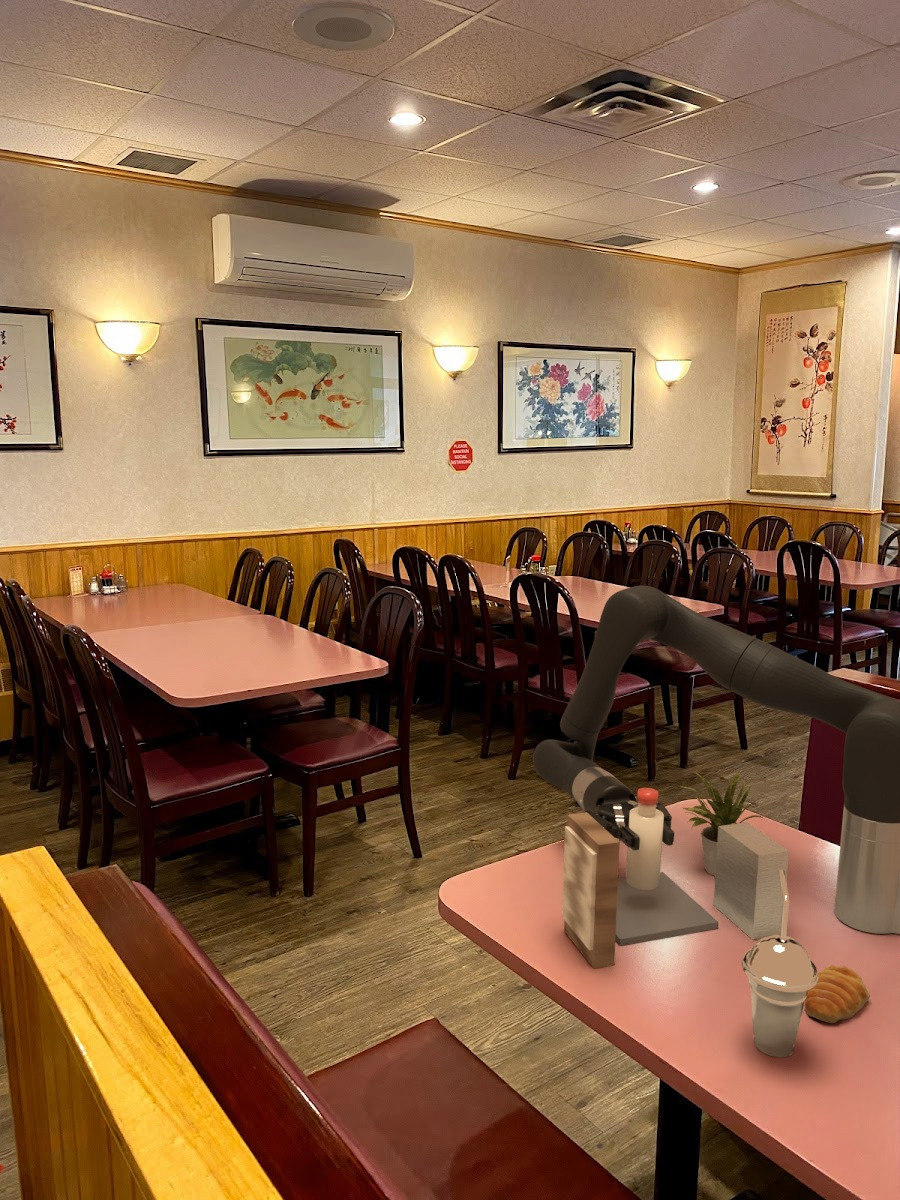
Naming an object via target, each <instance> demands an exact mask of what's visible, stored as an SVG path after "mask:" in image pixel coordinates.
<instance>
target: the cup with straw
mask: <svg viewBox="0 0 900 1200" xmlns="http://www.w3.org/2000/svg"><path fill="white" fill-rule="evenodd" d="M779 877H780V883H781V889H782V895H783V906H782V918H781V931H780V934H771V935H767V936H764V937H762V938H759V939H757V940H756V942H755V943H754V944H753V946H752V947H751V948H749V949H748V950H747V951H745V953H744V954H743V957H742V960H741V968H742V970H743V972H744V974H745V975H746V976H747V979H748V985H749V989H750V997H751V998H750V999H751V1001H750V1002H751V1016H752V1017H751V1018H752V1019H751V1020H752V1034H753V1044H754V1046H755V1048H756V1049H758V1050H759V1051H760V1052H762V1053H763V1054H764V1055H767V1056H769V1057H773V1058H786V1057H790V1056H791V1055H792V1054H793V1052H794V1049H795V1045H796V1041H797V1036H798V1033H799V1028H800V1023H801V1018H802V1016H803V1010H804V1007H805V1000H806V998H807V995H808V993H809V990H810V989H812V988H813V987H814V986H815V985H816V984H817V982H818V968H817V966H816V965H815V963H814V962H813V961H812V960H811V959H810V956H809V954H808V951H807V950H806V949H805V947H804V946H803V945H802V944H801V943H800V942H799V941H797V940H796V939H795V938H792V936H788V935H787V933H788V918H789V909H790V894H789V888H788V883H787V881H786V876H785V871H784V870H780V871H779Z"/></svg>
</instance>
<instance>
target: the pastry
mask: <svg viewBox="0 0 900 1200" xmlns="http://www.w3.org/2000/svg"><path fill="white" fill-rule="evenodd" d="M817 974H818V982H817V984H816V985H815V986H814V987H813V988H812V989H810V990H809V993H808V995H807V998H806V1000H805V1002H804V1008H805V1010H806V1011H805V1012H806V1015H807V1016H809V1017H813V1018H815V1019H816V1020H819V1021H822V1022H824V1023H825V1022H826V1023H829V1024H835V1023H837V1022H839V1021H843V1020H846V1018H847V1019H853V1017H854V1015H855V1013H856V1012H857V1013H858V1012H859V1011H861V1010H862V1009H863V1007H864V1006H865V1004H867V1002H868V1000H869V999H870V998H871V994H870V992H869V990H868V989H867V986H866V984H865V983H864V981H863V980H862V977H861V976H860V974H859V973H857V972H856V971H855V970H853V969H851V968H849V967H847V966H845V965H844V966H841V965H840V966H836V965H834V964H832V965H831V964H830V966H827V967H824V969H823V970H821V971H820V972H817ZM860 1009H861V1010H860ZM857 1013H856V1014H857Z"/></svg>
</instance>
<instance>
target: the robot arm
mask: <svg viewBox="0 0 900 1200" xmlns="http://www.w3.org/2000/svg"><path fill="white" fill-rule="evenodd" d="M648 640H651V641H655V642H657V643H660V644H663V645H665V646H667V647H670V648H672V649H674V650H676V651H679V652H680V653H682V654H684V655H686V656H687V657H689V659H691V660H693V661H694V662H695V663H696V664H697V665H698V666H699V667H700V668H701V669H702V670H703V671H704V672H705V673H706V674H707V675H708V676H709V677H710V678H711V679H712V680H713V681H715V682H716V683H717V684H719V685H720V686H722V687H724V688H725V689H727V690H728V691H731V692H733V693H735V694H736V695H739V696H740V697H743V698H745V699H746V700H749V701H751V702H753V703H755V704H757V705H761V706H763V707H766V708H771V709H773V710H777V711H782V712H786V713H790V714H791V713H792V714H795V715H800V716H805V717H808V718H811V719H815V720H818V721H821V722H823V723H825V724H827V725H829V726H832V727H834V728H835V729H837V730H839V731H841V732H843V733H845V740H844V747H843V748H844V749H843V763H842V764H843V765H842V766H843V768H842V790H843V793H844V802H843V812H842V813H843V814H842V823H841V824H842V825H841V833H840V834H841V835H840V846H839V857H838V865H837V866H838V867H837V876H836V888H835V889H836V890H835V896H834V897H835V898H834V915H835V916H836V918H837V919H838V920H839V921H840V922H842V923H843V924H845V925H846V926H848V927H850V928H853V929H856V930H858V931H861V932H866V933H870V934H877V935H878V934H881V935H883V934H884V935H886V934H897V935H900V700H899V699H897V698H894V697H891V696H888V695H885V694H882V693H879V692H876V691H874V690H871V689H867V688H864V687H862V686H859V685H856V684H855V683H851V682H848V681H846V680H844V679H841V678H839V677H837V676H834V675H832V674H831V673H828V672H826V671H825V670H823V669H821V668H819V667H817V666H815V665H813V664H811V663H810V662H809V663H808V662H807V661H805V660H803V659H800V658H799V657H797V656H794V655H792V654H790V653H788V652H786V651H784V650H783V649H780V648H779V647H776V646H774V645H772V644H770V643H768V642H766V641H764V640H761V639H759V638H757V637H754V636H752V635H749V634H748V633H745V632H742V631H740V630H738V629H736V628H733V627H731V626H729V625H727V624H725V623H722V622H719V621H716V620H714V619H711V618H710V617H707V616H704V615H703V614H701V613H698V612H697V611H695V610H693V609H691V608H690V607H688V606H686V605H684V604H683V603H681V602H680V601H678V600H676V599H675V598H673V597H671V596H670V595H668V594H666V593H665V592H663V591H661V590H660V589H658V588H655V587H653V586H650V585H635V586H630V587H628V588H627V587H626V588H624V589H621V590H619V591H616V592H614V593H613V594H612V595H610V597H609V598H608V599H607V600H606V602H605V604H604V606H603V609H602V612H601V614H600V618H599V622H598V626H597V629H596V632H595V636H594V640H593V643H592V646H591V650H590V652H589V655H588V658H587V660H586V664H585V667H584V669H583V671H582V674H581V677H580V679H579V681H578V683H577V685H576V687H575V690H574V691H573V693H572V696H571V697H570V700H569V702H568V703H567V706H566V708H565V710H564V712H563V715H561V719H560V722H559V726H560V729H561V732H562V733H563V734H564V735H565V736H566V737H567V738H569V739H571V740H572V741H574V742H568V741H564V740H563V741H562V740H557V739H545V740H542V741H540V743H539V744H537V746H536V747H535V749H534V750H533V755H532V763H533V767H534V770H535V772H536V773H537V775H538V776H539V777H540V778H541V779H543V780H544V781H545V782H547V783H549V784H551V785H553V786H555V787H557V788H559V789H561V790H563V791H565V792H566V793H568V794H569V796H570V797H572V798H573V800H575V801H576V803H577V804H578V805H579V807H580V808H581V809H583V811H584V812H583V813H585V812H587V813H588V814H589V815H590V816H592V817H593V818H594V819H595V820H596V821H597V822H598V823H599V824H600V825H601V826H602V827H603V828H605V829H606V830H607V831H608V832H609V833H610V834H611V835H612V836H613V837H614V838H615V839H616V840H618V841H619V842H622V843H623V844H624V845H625V846H626V847H627V848H628V847H629V848H632V849H633V850H639V844H640V838H639V836H638V835H637V834H636V833H635V832H634V831H632V830H631V829H630V828H629V815H630V810H631V809H633V808H636V807H638V801H637V797H636V796H635V794H634V793H633V791H632V790H631V789H630V788H629V787H628V786H627V785H625V784H624V783H623V782H622V781H620V780H619V779H618V778H617V777H615V776H614V775H613V774H611V773H610V772H608V771H606V770H604V768H602V767H601V766H599V765H598V763H596V762H595V761H593V760H594V754H595V750H596V744H597V740H598V735H599V733H600V731H601V729H602V727H603V726H604V724H605V722H606V720H607V718H608V715H609V714H610V711H611V709H612V706H613V704H614V701H615V697H616V692H617V685H618V681H619V677H620V674H621V672H622V669H623V667H624V665H625V663H626V661H627V660H628V658H629V657H630V655H631V654H632V653H633V651H634V649H636V647H637V646H638V645H639V643H642V642H644V641H648ZM656 809H657V810H659V811H661V812H662V813H663V814H664V820H663V837H662V843H663V844H664V845H666V846H667V847H670V846H673V845H674V842H675V831H674V830H673V829H672V820H673V819H672V818H673V817H672V815H671V813H670V812H669V811H668V809H667V808H666V806H665V805H664V803H663V802H661V801H658V803H657V804H656Z"/></svg>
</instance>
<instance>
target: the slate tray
mask: <svg viewBox="0 0 900 1200" xmlns="http://www.w3.org/2000/svg"><path fill="white" fill-rule="evenodd" d="M718 929H719V921H718V920H717V919H716V918H715V917H714V916H712V915H711V914H710V913H709V912H708V911H707V910H706V909H705V908H703V907H702V905H700V904H699V903H698V902H697V901H696V900H695V899H693V897H692V896H690V895H689V894H688V893H687V892H686V891H685V890H684V889H683V888H681V886H679V885H678V884H677V883H676V882H675V880H673V879H671V878H670V876H668V875H667V874H666V873H665V872H664V871H660V884H659V886H658V887H657V888H655V889H651V890H642V889H637V888H634V887H632V886H630V885H629V884H628V883H627V882H626V877H621V878H618V888H617V912H616V936H615V943H617V945H619V946H626V945H627V946H628V945H631V944H638V943H644V942H649V941H654V940H660V939H665V938H670V937H676V936H682V935H689V934H694V933H699V932H704V931H712V930H718Z"/></svg>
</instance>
